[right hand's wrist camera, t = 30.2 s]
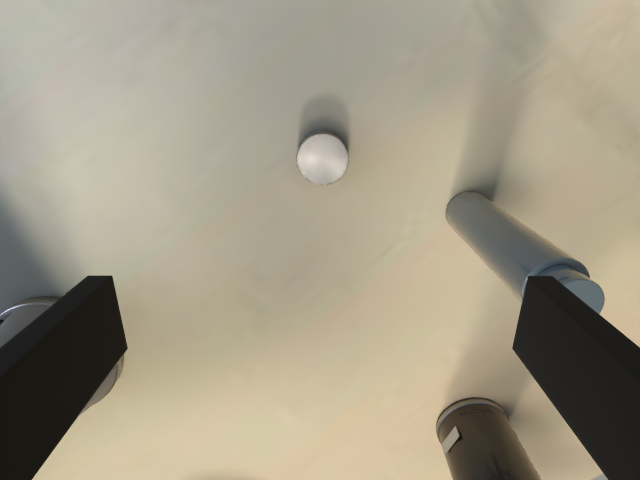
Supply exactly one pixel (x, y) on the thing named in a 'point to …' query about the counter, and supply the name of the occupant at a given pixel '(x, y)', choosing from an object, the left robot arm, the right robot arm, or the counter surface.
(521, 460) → the left robot arm
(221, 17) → the counter surface
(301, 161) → the lid
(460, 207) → the bottle
